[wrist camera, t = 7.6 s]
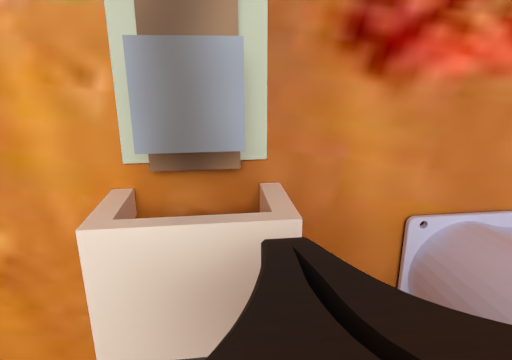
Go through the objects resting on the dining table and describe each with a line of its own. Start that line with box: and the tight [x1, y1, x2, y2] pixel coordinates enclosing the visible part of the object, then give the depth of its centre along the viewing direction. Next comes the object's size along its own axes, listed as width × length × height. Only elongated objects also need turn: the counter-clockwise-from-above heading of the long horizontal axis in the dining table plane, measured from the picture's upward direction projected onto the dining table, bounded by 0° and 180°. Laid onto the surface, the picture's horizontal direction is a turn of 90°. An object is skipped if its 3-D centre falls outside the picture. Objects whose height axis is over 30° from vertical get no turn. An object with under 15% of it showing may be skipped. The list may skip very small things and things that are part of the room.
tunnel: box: [76, 182, 302, 360], centre depth 19 cm, size 10×7×6 cm
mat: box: [104, 0, 267, 164], centre depth 18 cm, size 8×12×1 cm, turn 0°
